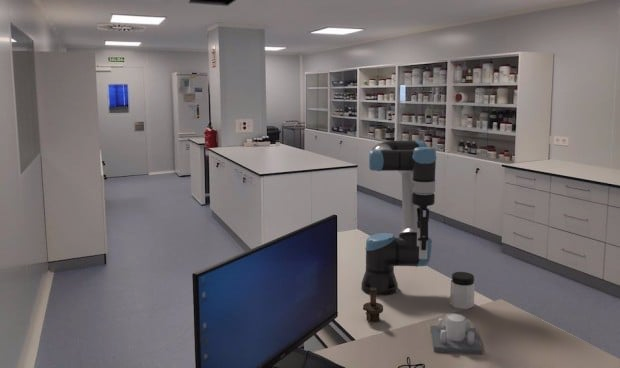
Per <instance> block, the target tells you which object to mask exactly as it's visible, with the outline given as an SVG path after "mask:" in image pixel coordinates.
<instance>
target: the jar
mask: <svg viewBox="0 0 620 368" xmlns="http://www.w3.org/2000/svg"><path fill="white" fill-rule="evenodd" d="M475 285H476V283H475V276H474V274H472V273H470V272H466V271H456V272H453V273H452V274H451V280H450V297H449V303H450V304H451V305H452V307H453V308H456V309H462V310H468V309H471V308H473V307H474V306H475V289H476V288H475V287H476V286H475Z"/></svg>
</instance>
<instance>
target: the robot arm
mask: <svg viewBox="0 0 620 368" xmlns="http://www.w3.org/2000/svg"><path fill="white" fill-rule="evenodd" d="M368 155H369V156H368V157H369V158H368V159H369V160H368V163H369V164H368V165H369V166H368V167H369V170H370V171H374V172H375V171H376V172H386V171H387V172H392V171H393V172H395V171H396V172H398V173H399V174H400V175H401V201H402V203H401V206H402V208H401V209H402V210H401V211H402V213H401V214H402V218H401V219H402V230H401V231H400V232H399V234H398V237H395V235H394V234H393V233H391V232H380V233H375V234H372V235H370V236H368V237H367V238H366V241H365V272H364V274H363V277H362V281H361V290H362V291H363V292H364V291H365V292H364V293H365V294H368V293H369V295H370V290H371V288H376V296H389V295H390V296H391V295H393V294H396V293H397V292H398V288H399V285H398V281H397V278H396V275H395V272H394V271H395V268H394V267H415V268H417V267H426V266H428V265H429V263H430V260H431V253H432V238H430V237H429V220H430V217H429V216H430V210H429V208H428V207H429V206H433V205H434V204H435V201H436V199H435V198H436V196H435V192H436V167H437V166H436V165H437V162H436V161H437V150H436V148H434V147H431V146H427V143H426V142H425V141H423V140H415V139H413V140H387V141H383V142H380V143H377V144H375V145H374V146H373V147H372V148H371V150H370V151H369V154H368Z"/></svg>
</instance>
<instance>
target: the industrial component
mask: <svg viewBox="0 0 620 368" xmlns="http://www.w3.org/2000/svg"><path fill="white" fill-rule="evenodd" d="M369 297H370V302H368V301H367V302H366V303H364V304H363V305H362V306H363V307H362V310H363V311H366V312H365V314H364V315H366V321H367V323H376V322H377V323H378V322H379V321H380V314H382V313H383V312H384V306H383V304H381V303H379V302H377V295H376V288H371V290H370V294H369Z"/></svg>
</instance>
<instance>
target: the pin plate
mask: <svg viewBox="0 0 620 368" xmlns="http://www.w3.org/2000/svg"><path fill="white" fill-rule="evenodd" d="M437 319H438V321H437V322H438V323H437V325H430V328H431V330H430V335H431V334H432V336H431V342H432V349H433V352H441V353H453V354H454V353H456V354H469V355H470V354H471V355H483V353H484V348H483V346H482V344H481V341H480V339H479V335H478V332H477V329H476V327H471V320H470V319H467V322H466V329H465V336H464V339H463V340H462V341H452V340H450V339H448V338H447V331H446V325H445V318H443V317H439V318H437Z"/></svg>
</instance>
